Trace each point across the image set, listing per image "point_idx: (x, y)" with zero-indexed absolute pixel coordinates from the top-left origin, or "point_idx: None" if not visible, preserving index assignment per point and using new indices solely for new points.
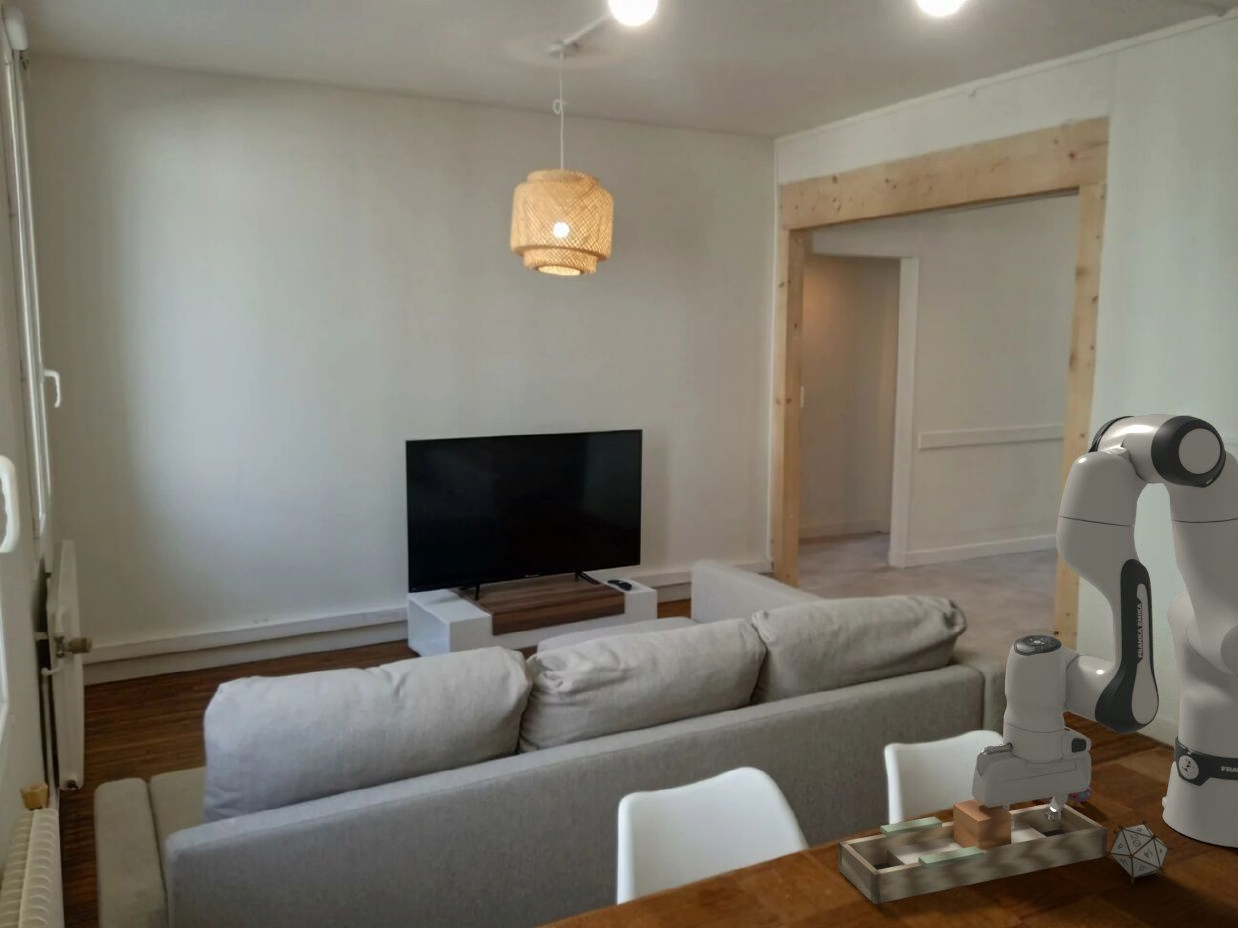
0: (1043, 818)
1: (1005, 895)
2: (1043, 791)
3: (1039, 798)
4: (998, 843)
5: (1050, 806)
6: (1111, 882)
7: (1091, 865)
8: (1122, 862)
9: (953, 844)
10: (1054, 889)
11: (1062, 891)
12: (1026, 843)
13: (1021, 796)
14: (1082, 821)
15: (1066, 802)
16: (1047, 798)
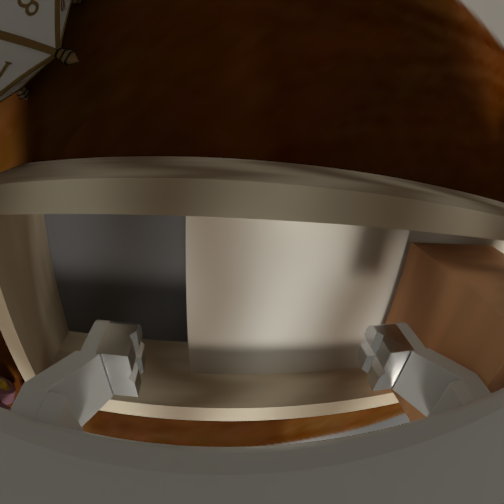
0: None
1: (484, 122)
2: (265, 501)
3: (289, 447)
4: (472, 260)
5: (110, 390)
6: (140, 11)
7: (107, 121)
8: (63, 7)
9: None
10: (365, 57)
11: (351, 37)
12: (419, 211)
13: (463, 440)
14: (10, 287)
15: (11, 389)
16: None
